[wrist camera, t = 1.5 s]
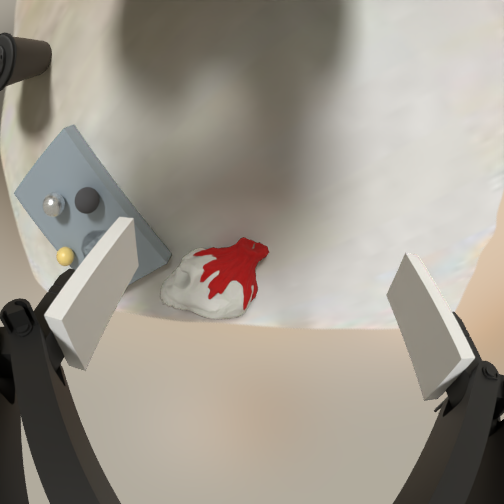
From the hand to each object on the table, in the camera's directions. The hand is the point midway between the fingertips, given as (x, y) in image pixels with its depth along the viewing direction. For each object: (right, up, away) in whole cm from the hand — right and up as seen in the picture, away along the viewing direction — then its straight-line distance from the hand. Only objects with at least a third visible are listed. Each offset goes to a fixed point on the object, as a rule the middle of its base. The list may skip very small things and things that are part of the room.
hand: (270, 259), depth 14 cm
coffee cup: (-31, +28, +13) cm, 44 cm away
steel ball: (-28, +7, +21) cm, 36 cm away
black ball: (-22, +7, +21) cm, 31 cm away
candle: (-5, -1, +30) cm, 30 cm away
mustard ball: (-30, 0, +26) cm, 39 cm away
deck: (-26, +6, +27) cm, 38 cm away
